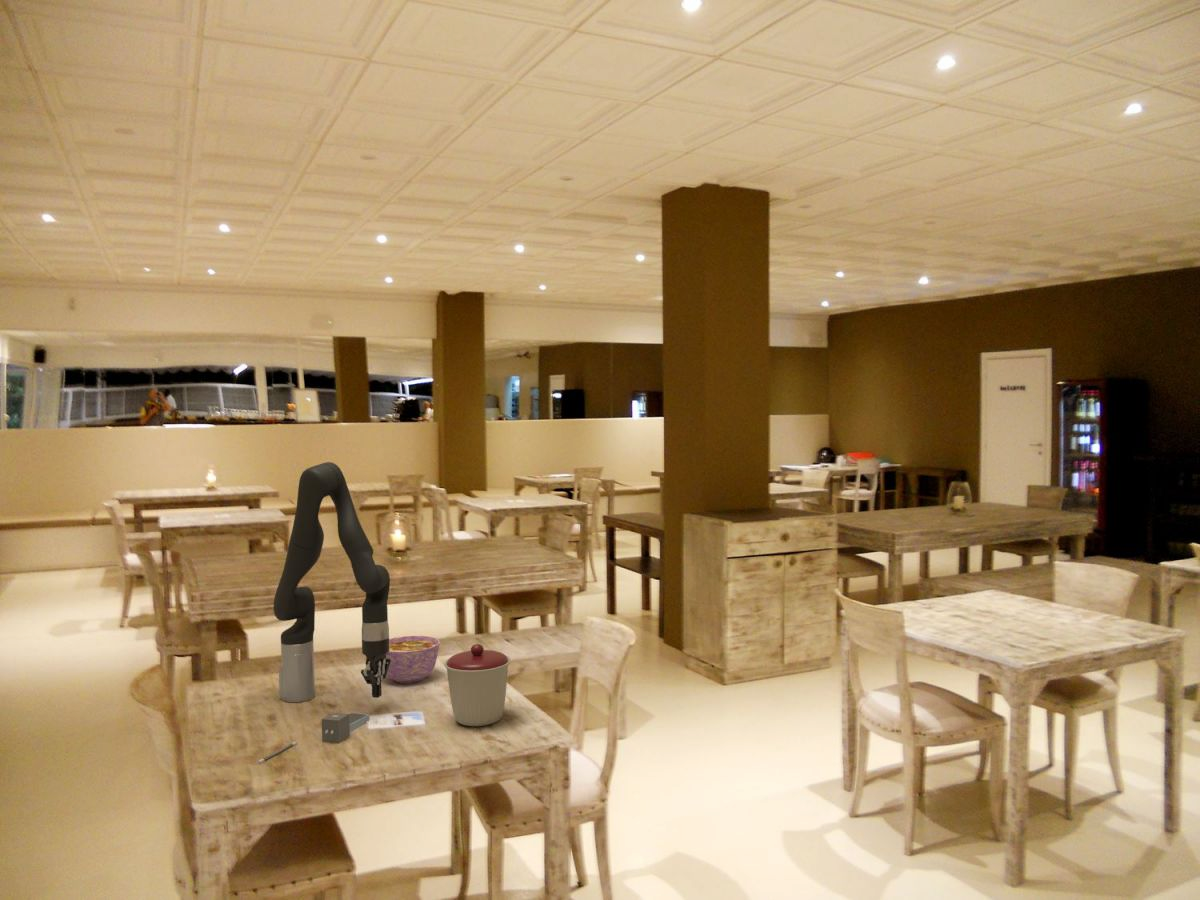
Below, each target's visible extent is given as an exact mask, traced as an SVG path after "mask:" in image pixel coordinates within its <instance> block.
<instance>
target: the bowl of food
mask: <svg viewBox="0 0 1200 900" xmlns="http://www.w3.org/2000/svg"><path fill="white" fill-rule="evenodd" d="M440 640H441V639H438V638H436V637H432V636H426V635H407V636H405V635H403V636H398V637H393V638H389V652H388V653H387V654H386V658H387V659H390V660H391V662H390V665H389V668H388V672H387V675H386V677H388V678H390V680H391V679H392V680H394V681H395V682H397V683H399V682H400V684H411V683H412V682H413V683H416V681H417V682H420V681H422V680H423V679H424V678H426V677H428V676H429V675H430V674H431V673H432V672H433V671H434V669H435V666H436V663H437V659H438V655H439V649H440V644H441V641H440ZM419 680H420V681H419Z"/></svg>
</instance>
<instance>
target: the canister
mask: <svg viewBox="0 0 1200 900" xmlns="http://www.w3.org/2000/svg"><path fill="white" fill-rule="evenodd" d="M511 661H512V660H511V658H510V657H509V656H508V655H506V654H504V653H503V652H500V651H496V650H491V649H484V645H482V644H478V643H475V644H473V645H472V646H471V647H470V650H468V651H467V650H466V651H462V652H458V653H456V654H453V655H452V656H450V657H449V658H447V659H446V660H445V661H444V662H443V666H444V667H445V669H446V672H447V681H448V688H449V695H450V702H451V709H452V715H453V717H454V719H455V720H456V722H458V724H461V725H462V726H463V725H464V726H467V727H485V726H489V725H492V724H495V723H497V722H499V720H500V719H501V718H502V716H503V715H504V711H505V705H506V703H505V702H506V698H507V697H506V696H507V685H508V674H509V673H508V672H509V669H508V668H509V665H510V663H511Z"/></svg>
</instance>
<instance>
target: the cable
mask: <svg viewBox="0 0 1200 900" xmlns="http://www.w3.org/2000/svg"><path fill="white" fill-rule="evenodd" d="M296 745H297V741H293V742H292V743H289V744H287V745H286V746H283V747H281V748H280V749H278V750H276V751H274V752H272V753H270V754H268V755H266V756H265V757H263V758H261V759H260V760H258V763H259V764H262V763H263V762H265V761H267V760H269V759H271V758H273V757H275V756H276V755H278V754H280V753H282V752H283V751H286V750H288V749H290V748H292V747H294V746H296Z"/></svg>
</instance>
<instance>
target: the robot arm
mask: <svg viewBox="0 0 1200 900" xmlns="http://www.w3.org/2000/svg"><path fill="white" fill-rule="evenodd" d="M328 496H329V497H330V499H331V501H332V503H333V504H334V507H335V510H336V516H337V534H338V539H339V542H340V544H341V546H342V547H343V550H344V552H345V553H346V554H345V555H346V556H347V557H348V559H349V561H350V565H351V568H352V572H353V575H354V579H355V581H356V584H357V585H358V587H359V588H360V589H361V591H362V592H365V598H364V601H363V603H362V605H361V617H362V618H361V619H362V620H361V623H362V624H361V653H362V655H364V656H365V657H366V659H365V668H364V669H361V671H360V673H361V675H362V677H363V679H364V681H365V682H366V684H367V685H371V696H372V698H377V699H378V698H380V697H381V696H382V683H383V681H384V680H386V679H387V676H386V675H387V672H388V668H389V665H390V662H391V660H390V659H387V658H386V654H387V653H388V652H389V639H390V626H389V622H388V621H389V620H388V615H389V614H388V601H389V595H390V586H391V578H390V574H389V573H390V572H389V571H388V569H387V568H386V567H385V566H383V565H380V564H376V563H375V560H374V557H373V555H374V549H373V546H372V545H371V542H370V540H369V538H368V537H367V535H366V533H365V531H364V529H363V527H362V525H361V522H360V520H359V517H358V514H357V511H356V508H355V505H354V503H353V500H352V496H351V493H350V490H349V486H348V484H347V480H346V479H345V475H344V473H343V471H342V470H341V468H340V467H339V466H338V465H337V464H336V463H334V462H331V461H327V462H321V463H320V464H317V465H313V466H310V467H308V468H306V469H305V470H303V472H302V473H301V475H300V478H299V480H298V489H297V500H296V509H295V513H294V520H293V524H292V525H293V526H292V529H291V533H290V537H289V541H288V547H287V552H286V558H285V562H284V566H283V570H282V573H281V577H280V580H279V583H278V586H277V588H276V591H275V595H274V599H273V608H272V609H273V614H274V616H275V617H276V619H277V620H279V621H281V622H283V621H284V622H286V621H293V620H295V622H293V624H292V625H291V626H290V627H288V628H287V629H285V630H283V631H282V632H281V633H280V651H281V652H280V653H281V655H280V657H281V666H280V667H279V668H278V686H279V687H278V689H279V693H278V694H279V700H280V699H283V700H284V701H283V700H282V701H283V702H285V701H287V702H286V703H300V702H302V703H303V702H306V701H308V700H309V699H310V700H312V699H314V698H315V697H316V686H315V682H316V681H315V654H314V653H315V649H314V648H315V647H314V633H315V628H316V627H315V620H316V619H315V618H316V617H315V614H316V599H315V596H314V592H313V590H312V589H311V588H310V586H298V585H299V584H300V582H301V581H302V579H303V578H304V577H305V576H306V575H307V574H308V572H310V571H311V569H312V568H313V567H314V566H315V564H316V563H317V562H318V560H319V559H320V557H321V554H322V549H323V546H324V540H325V533H324V530H323V527H322V524H321V523H320V519H319V515H320V514H319V512H320V507H321V505H322V502H323V499H324V498H325V497H328ZM314 696H315V697H314ZM313 697H314V698H313Z"/></svg>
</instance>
